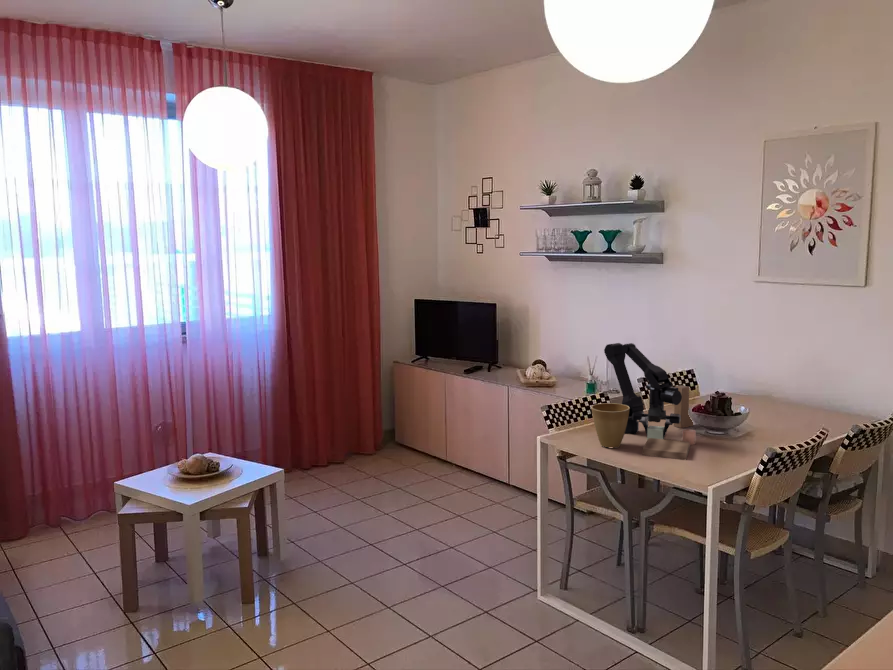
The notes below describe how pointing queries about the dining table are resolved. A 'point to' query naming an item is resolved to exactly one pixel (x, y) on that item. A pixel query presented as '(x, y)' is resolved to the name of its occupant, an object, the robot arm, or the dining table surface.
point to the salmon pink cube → (689, 436)
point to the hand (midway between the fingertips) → (655, 437)
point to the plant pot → (610, 423)
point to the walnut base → (666, 448)
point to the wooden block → (683, 408)
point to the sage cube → (655, 432)
